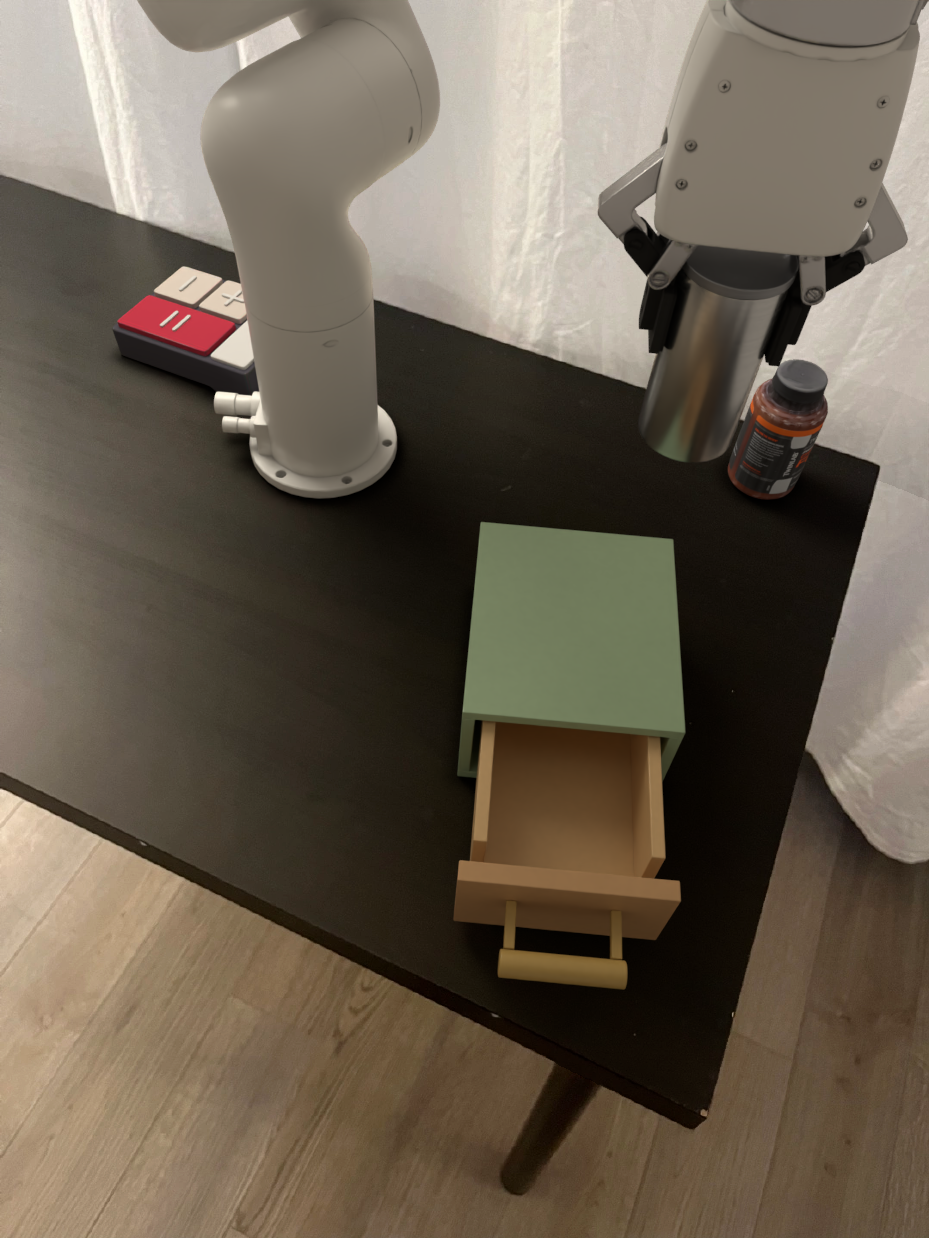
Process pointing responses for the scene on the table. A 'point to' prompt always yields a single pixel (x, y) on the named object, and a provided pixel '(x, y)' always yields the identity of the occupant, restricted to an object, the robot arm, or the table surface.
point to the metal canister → (713, 349)
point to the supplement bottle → (779, 430)
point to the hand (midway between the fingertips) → (712, 341)
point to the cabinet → (573, 636)
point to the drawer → (567, 846)
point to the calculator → (193, 332)
